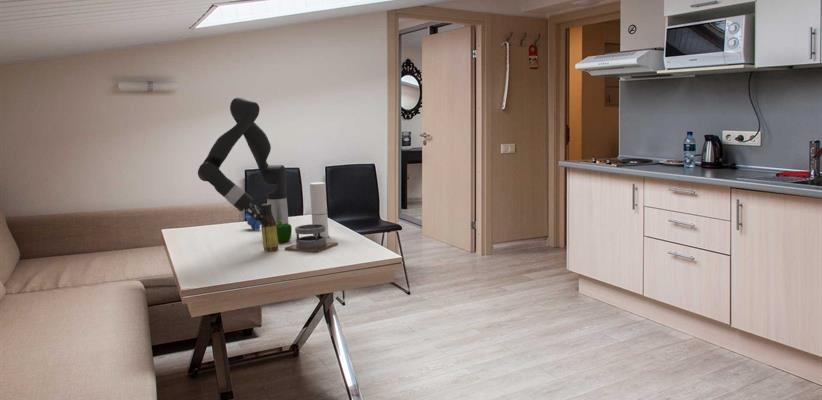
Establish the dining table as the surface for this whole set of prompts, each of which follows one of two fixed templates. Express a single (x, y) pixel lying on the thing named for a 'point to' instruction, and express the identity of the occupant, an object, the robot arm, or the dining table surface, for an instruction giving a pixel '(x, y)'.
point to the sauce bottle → (269, 230)
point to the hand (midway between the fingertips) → (268, 223)
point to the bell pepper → (283, 231)
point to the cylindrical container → (319, 205)
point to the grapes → (252, 221)
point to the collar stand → (310, 239)
